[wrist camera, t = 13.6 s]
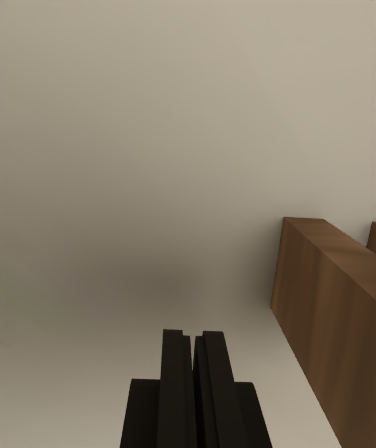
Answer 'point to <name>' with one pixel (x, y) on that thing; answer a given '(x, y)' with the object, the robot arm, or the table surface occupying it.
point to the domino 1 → (331, 322)
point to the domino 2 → (372, 238)
